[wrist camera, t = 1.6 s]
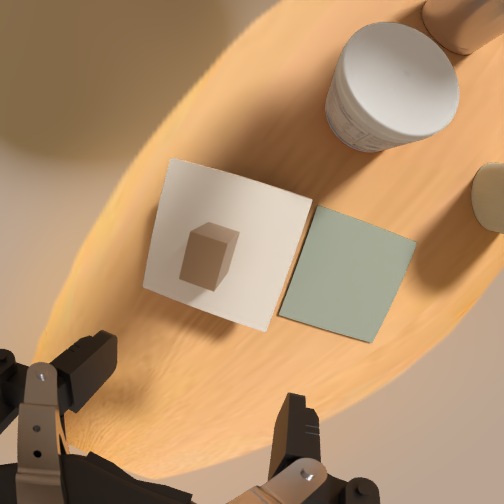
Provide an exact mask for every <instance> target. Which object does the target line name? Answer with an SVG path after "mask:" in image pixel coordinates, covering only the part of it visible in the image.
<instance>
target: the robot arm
mask: <svg viewBox="0 0 504 504" xmlns="http://www.w3.org/2000/svg"><path fill="white" fill-rule="evenodd" d="M422 19H423V22H424V24H425V26H426V28H427V30H428V31H429V33H430V34H431V35H432V36H433V37H434V39H435V40H436V41H437V42H439V43H440V44H441V45H442V46H443V47H445V48H447V49H448V50H450V51H452V52H454V53H457V54H460V55H468V54H471V53H473V52H474V51H476V50H477V49H479V48H481V47H482V46H484V45H485V44H487V43H489V42H490V41H492V40H493V39H495V38H496V37H498V36H499V35H501V34H503V33H504V0H427V2H426V3H425V5H424V6H423V8H422ZM116 365H117V337H116V336H115V335H113V334H110V333H108V332H106V331H104V330H101V331H99V332H98V333H97V334H96V335H95V336H93V337H92V336H87V337H84V338H81V339H79V340H78V341H77V342H76V343H74V345H72V346H70V347H69V348H68V349H67V350H65V351H64V352H63V353H62V354H60V355H59V356H58V357H57V358H55V359H54V360H53V361H52V362H50V363H49V364H48V363H44V362H38V363H34V364H32V365H31V366H30V367H29V366H26V365H22V364H19V363H16V361H15V357H14V355H13V353H12V352H11V351H9V350H6V349H0V434H1V433H2V432H3V431H4V430H5V429H6V428H7V427H8V425H9V424H10V423H11V422H12V421H13V420H14V419H15V418H16V417H17V416H18V415H19V417H18V439H17V440H18V443H17V454H18V456H17V459H18V463H11V464H4V465H0V504H196V503H194V502H193V501H191V498H192V494H190V493H187V492H183V491H181V490H177V489H175V488H171V487H169V486H166V485H161V484H155V483H149V482H144V481H140V480H136V479H134V478H133V477H131V476H130V475H128V474H127V473H126V472H124V471H123V470H122V469H120V468H119V467H118V466H116V465H115V464H114V463H112V462H110V461H108V460H106V459H104V458H102V457H100V456H98V455H97V454H95V453H93V452H91V451H90V452H89V454H88V455H87V456H82V455H75V454H70V452H69V447H68V439H67V429H66V417H65V412H66V411H67V410H68V409H69V410H71V411H73V412H75V413H77V412H78V411H79V410H80V409H81V408H82V407H83V406H84V405H85V403H86V402H87V401H88V400H89V399H90V398H91V397H92V396H93V395H94V393H95V392H96V391H97V390H98V389H99V388H100V387H101V386H102V385H103V384H104V382H105V381H106V380H107V379H108V378H109V377H110V376H111V375H112V374H113V372H114V371H115V368H116ZM319 434H320V433H319V418H318V416H317V414H316V412H315V411H314V409H310V408H306V399H305V396H303V395H298V394H294V393H288V394H287V396H286V398H285V401H284V403H283V405H282V407H281V410H280V412H279V414H278V417H277V419H276V423H275V427H274V435H273V443H272V451H271V459H270V467H269V474H268V482H266V483H265V484H264V485H262V486H260V487H259V486H255V487H252V488H251V489H249V490H247V491H246V492H244V493H243V494H241V495H240V496H238V497H236V498H235V499H233V500H231V501H230V502H228V503H226V504H380V497H379V489H378V487H377V486H376V484H375V483H374V482H373V481H371V480H369V479H366V478H362V477H360V478H359V477H358V478H354V479H352V480H350V481H349V482H346V481H344V480H340V479H338V478H335V477H333V476H331V475H329V474H328V473H327V470H326V468H325V466H324V465H323V464H322V463H321V456H320V436H319Z"/></svg>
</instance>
